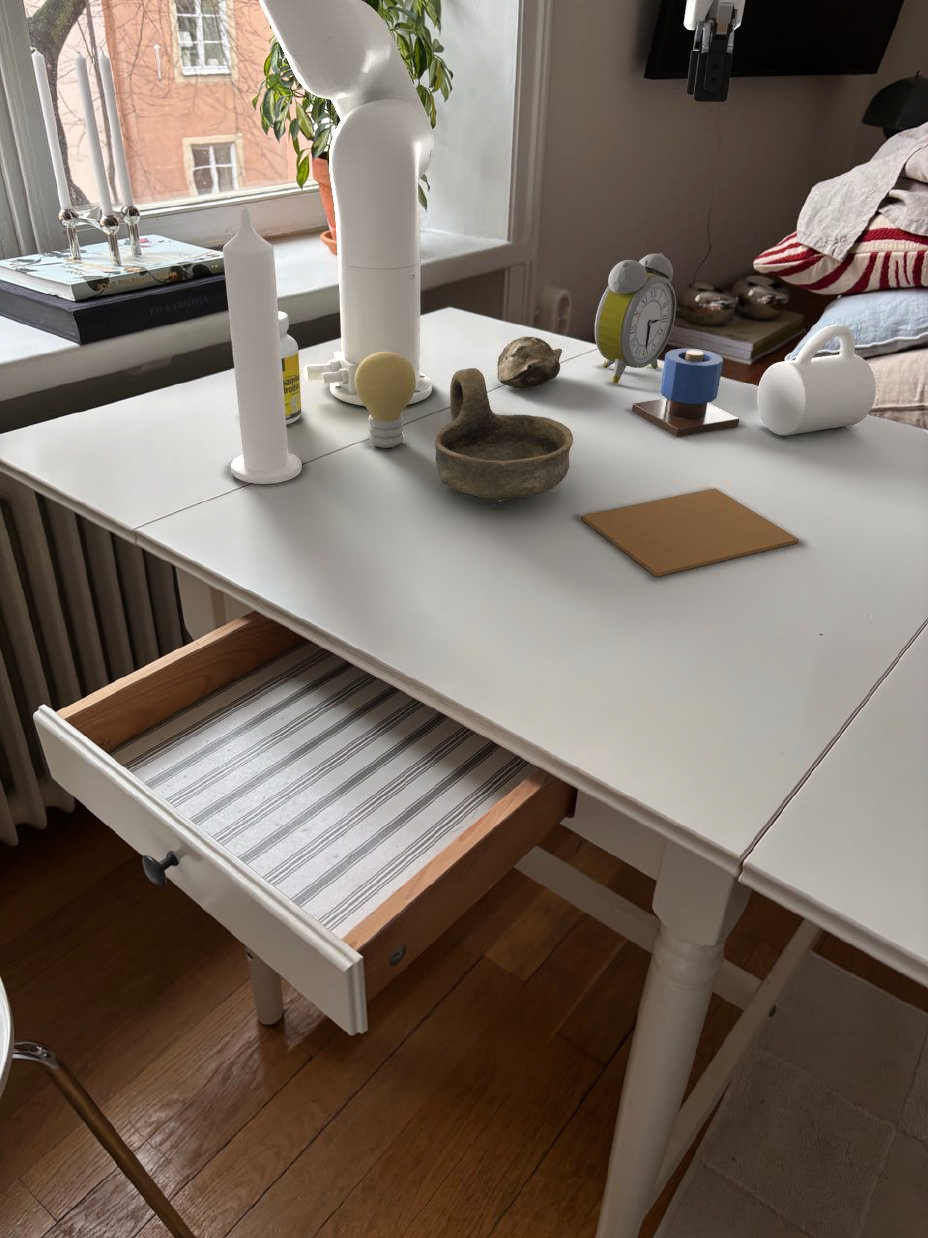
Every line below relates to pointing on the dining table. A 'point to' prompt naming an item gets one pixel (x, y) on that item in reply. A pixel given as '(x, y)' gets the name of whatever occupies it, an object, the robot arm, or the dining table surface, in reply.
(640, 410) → the dowel stand
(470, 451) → the bowl
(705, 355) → the blue hollow cylinder
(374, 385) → the light bulb
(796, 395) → the mug
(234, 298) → the candle
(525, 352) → the fossilized seashell
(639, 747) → the dining table surface
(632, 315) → the alarm clock
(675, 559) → the mat
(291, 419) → the pill bottle
